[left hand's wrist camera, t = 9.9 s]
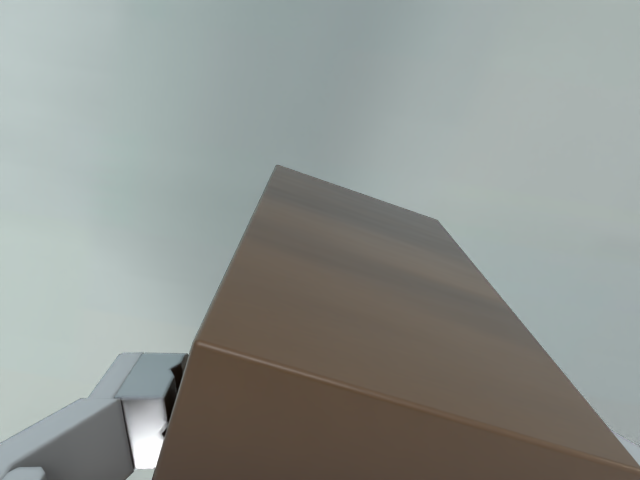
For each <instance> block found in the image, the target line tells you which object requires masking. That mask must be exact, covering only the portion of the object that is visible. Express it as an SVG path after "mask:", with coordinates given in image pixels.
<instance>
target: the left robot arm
mask: <svg viewBox="0 0 640 480" xmlns="http://www.w3.org/2000/svg"><path fill="white" fill-rule="evenodd" d="M188 356H189V355H188V354H186V353H122V354H119V355H118V356H117V358H116V359H115V361H114V362H113V363H112V365H111V366H110V368H109V369H108V370H107V372H106V373H105V374H104V376H103V377H102V379H101V380H100V381H99V383H98V384H97V386H96V387H95V388H94V390H93V391H92V393H91V394H90V395H89V397H88V398H80V399H78V400H77V401H75V402H73V403H71V404H69V405H68V406H66V407H64V408H62V409H60V410H59V411H57V412H55V413H53V414H51V415H50V416H48V417H46V418H44V419H42V420H41V421H39V422H37V423H35V424H33V425H32V426H30V427H28V428H26V429H24V430H23V431H21V432H19V433H17V434H15V435H14V436H12V437H10V438H8V439H6V440H5V441H3V442H1V443H0V480H125V479H126V478H128V477H129V476H130V475H131V474H132V473H133V472H134V470H133V469H155V467H156V464H157V461H158V457H159V454H160V450H161V447H162V444H163V440H164V437H165V434H166V430H167V427H168V424H169V420H170V417H171V413H172V410H173V407H174V403H175V400H176V397H177V393H178V390H179V387H180V383H181V380H182V376H183V373H184V370H185V366H186V363H187V360H188ZM611 431H612V430H611ZM612 433H613V434H614V435H615V436H616V437H617V439H618V440H619V441H620V442H621V443H622V445H623V446H624V447H625V448H626V450H627V451H628V452H629V453H630V454H631V456H632V457H633V458H634V459H635V460H636V462H637V463H638V464H639V465H640V446H638V445H637V444H635V443H633V442H631V441H629V440H628V439H626V438H624V437H622V436H621V435H619V434H617V433H615V432H613V431H612Z"/></svg>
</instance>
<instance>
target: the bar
mask: <svg viewBox="0 0 640 480" xmlns="http://www.w3.org/2000/svg"><path fill="white" fill-rule="evenodd" d="M152 480H640V465H639V464H638V463H637V462H636V460H635V459H634V458H633V457H632V456H631V454H630V453H629V452H628V451H627V450H626V448H625V447H624V446H623V445H622V443H621V442H620V441H619V440H618V439H617V437H616V436H615V435H614V434H613V433H612V431H611V430H610V429H609V428H608V426H607V425H606V424H605V423H604V422H603V420H602V419H601V418H600V417H599V416H598V414H597V413H596V412H595V411H594V409H593V408H592V407H591V406H590V405H589V403H588V402H587V401H586V400H585V399H584V397H583V396H582V395H581V394H580V392H579V391H578V390H577V389H576V388H575V386H574V385H573V384H572V383H571V381H570V380H569V379H568V378H567V377H566V375H565V374H564V373H563V372H562V371H561V369H560V368H559V367H558V366H557V364H556V363H555V362H554V361H553V360H552V358H551V357H550V356H549V355H548V354H547V352H546V351H545V350H544V349H543V347H542V346H541V345H540V344H539V343H538V341H537V340H536V339H535V338H534V337H533V335H532V334H531V333H530V332H529V330H528V329H527V328H526V327H525V326H524V324H523V323H522V322H521V321H520V320H519V318H518V317H517V316H516V315H515V313H514V312H513V311H512V310H511V309H510V307H509V306H508V305H507V304H506V303H505V301H504V300H503V299H502V298H501V296H500V295H499V294H498V293H497V292H496V290H495V289H494V288H493V287H492V286H491V284H490V283H489V282H488V281H487V279H486V278H485V277H484V276H483V275H482V273H481V272H480V271H479V270H478V269H477V267H476V266H475V265H474V264H473V262H472V261H471V260H470V259H469V258H468V256H467V255H466V254H465V253H464V252H463V250H462V249H461V248H460V247H459V245H458V244H457V243H456V242H455V241H454V239H453V238H452V237H451V236H450V235H449V233H448V232H447V231H446V230H445V228H444V227H443V226H442V225H441V224H440V222H439V221H438V220H436V219H433V218H430V217H427V216H424V215H421V214H418V213H416V212H413V211H410V210H407V209H404V208H401V207H398V206H395V205H392V204H390V203H387V202H384V201H381V200H378V199H375V198H372V197H369V196H367V195H364V194H361V193H358V192H355V191H352V190H349V189H346V188H343V187H341V186H338V185H335V184H332V183H329V182H326V181H323V180H320V179H318V178H315V177H312V176H309V175H306V174H303V173H300V172H297V171H294V170H292V169H289V168H286V167H283V166H280V165H276V166H275V168H274V170H273V173H272V175H271V177H270V179H269V181H268V183H267V185H266V187H265V190H264V192H263V194H262V196H261V198H260V200H259V202H258V204H257V207H256V209H255V211H254V213H253V215H252V217H251V219H250V221H249V224H248V226H247V228H246V230H245V232H244V234H243V236H242V239H241V241H240V243H239V245H238V247H237V249H236V251H235V253H234V256H233V258H232V260H231V262H230V264H229V266H228V268H227V270H226V273H225V275H224V277H223V279H222V281H221V283H220V285H219V287H218V290H217V292H216V294H215V296H214V298H213V300H212V302H211V304H210V307H209V309H208V311H207V313H206V315H205V317H204V319H203V321H202V324H201V326H200V328H199V330H198V332H197V334H196V336H195V338H194V341H193V343H192V346H191V350H190V353H189V356H188V360H187V363H186V366H185V370H184V373H183V376H182V380H181V383H180V387H179V390H178V393H177V397H176V400H175V403H174V407H173V410H172V413H171V417H170V420H169V424H168V427H167V430H166V434H165V437H164V440H163V444H162V447H161V450H160V454H159V457H158V461H157V464H156V467H155V471H154V474H153V477H152Z"/></svg>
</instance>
